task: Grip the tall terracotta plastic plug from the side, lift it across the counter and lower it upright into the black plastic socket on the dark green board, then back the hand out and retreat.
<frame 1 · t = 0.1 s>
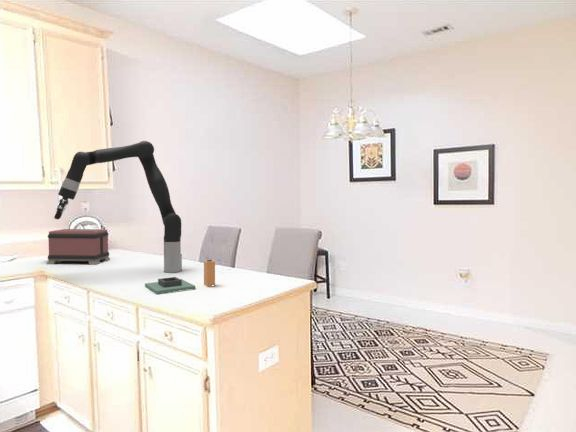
hand: (57, 218, 203), 31 cm above the counter, fingers open, 8 cm apart
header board: (169, 287, 189), on the counter
plug: (209, 285, 194), on the counter
reddish brown chest: (77, 262, 258), on the counter
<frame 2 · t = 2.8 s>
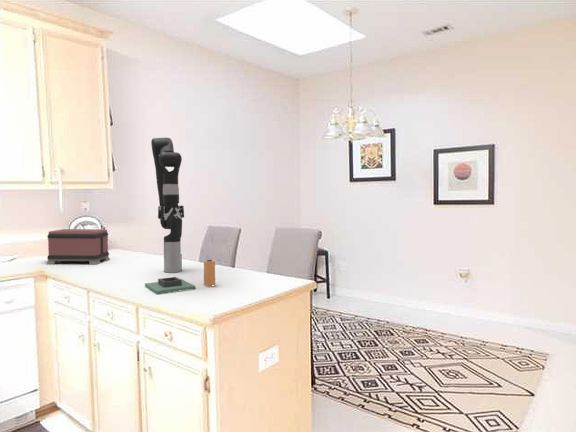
hand: (171, 227, 194), 28 cm above the counter, fingers open, 8 cm apart
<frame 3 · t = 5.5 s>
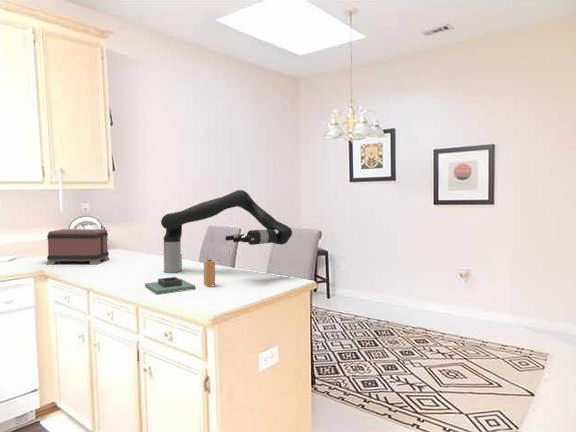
hand: (229, 239, 199), 22 cm above the counter, fingers open, 8 cm apart
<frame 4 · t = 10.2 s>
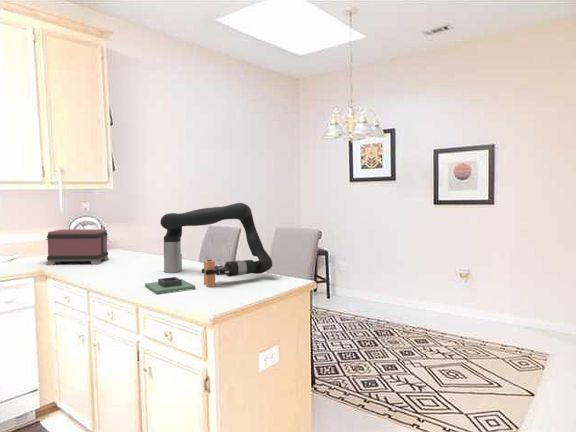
hand: (204, 271, 192), 7 cm above the counter, fingers closed on plug, 4 cm apart
plug: (209, 285, 194), on the counter, touching gripper
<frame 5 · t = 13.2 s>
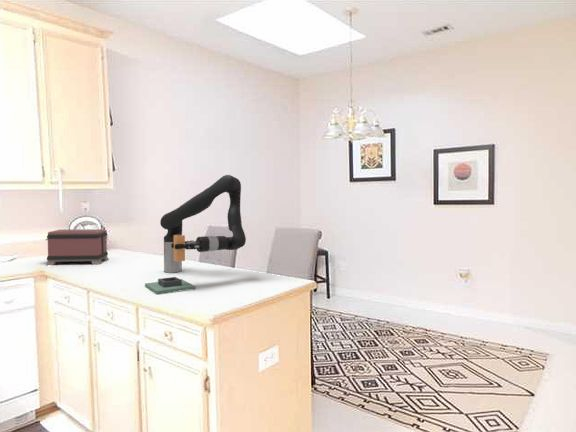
hand: (173, 246, 188), 20 cm above the counter, fingers closed on plug, 4 cm apart
plug: (179, 260, 190), point 13 cm above the counter, touching gripper
when the fingers open (10 cm above the counter, at t = 16.4 s): plug drops 1 cm, resting on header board.
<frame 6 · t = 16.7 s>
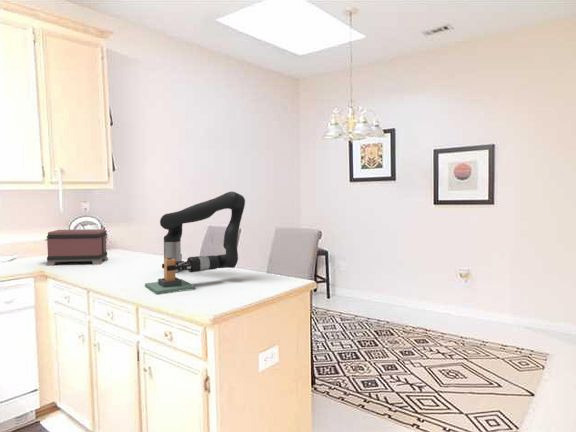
hand: (164, 267, 187), 10 cm above the counter, fingers open, 6 cm apart
plug: (169, 284, 189), point 2 cm above the counter, touching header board
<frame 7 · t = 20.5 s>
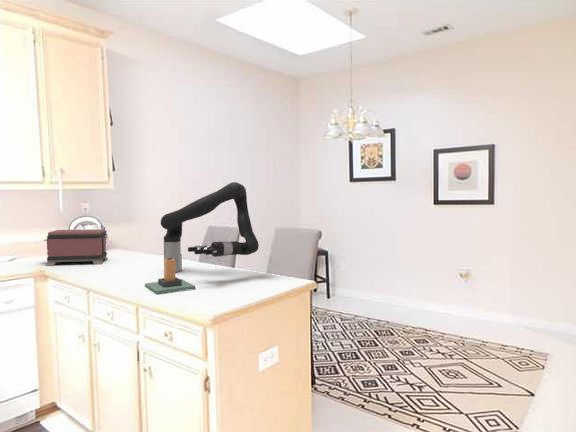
hand: (191, 250, 195), 17 cm above the counter, fingers open, 8 cm apart
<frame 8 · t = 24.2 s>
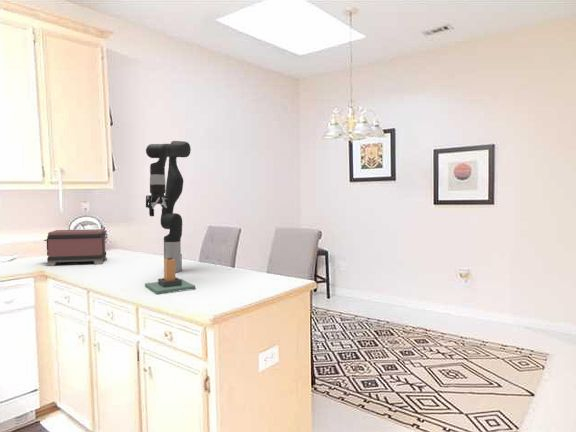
hand: (158, 215, 203), 33 cm above the counter, fingers open, 8 cm apart
at the end: plug 0.1 cm off-centre on the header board, point 1.5 cm above the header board's base; plug tilted 0°; the gripper is holding nothing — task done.
